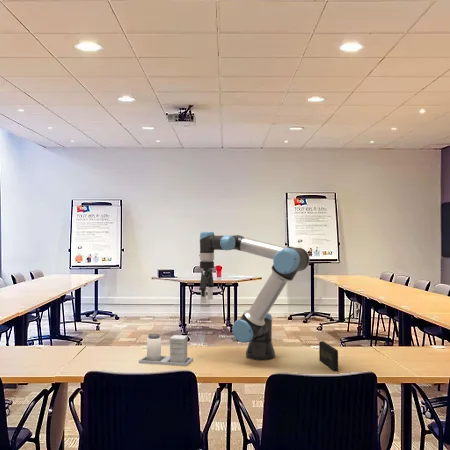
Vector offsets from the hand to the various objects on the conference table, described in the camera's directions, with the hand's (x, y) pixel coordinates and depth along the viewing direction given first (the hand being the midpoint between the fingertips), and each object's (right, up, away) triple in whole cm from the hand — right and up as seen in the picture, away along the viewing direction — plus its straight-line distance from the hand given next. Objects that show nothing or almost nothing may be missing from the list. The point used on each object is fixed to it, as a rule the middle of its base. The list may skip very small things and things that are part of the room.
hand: (206, 301), depth 269 cm
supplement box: (-13, -28, -18) cm, 36 cm away
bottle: (-26, -28, -15) cm, 41 cm away
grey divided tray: (-20, -29, -16) cm, 38 cm away
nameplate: (+60, -29, -20) cm, 70 cm away
